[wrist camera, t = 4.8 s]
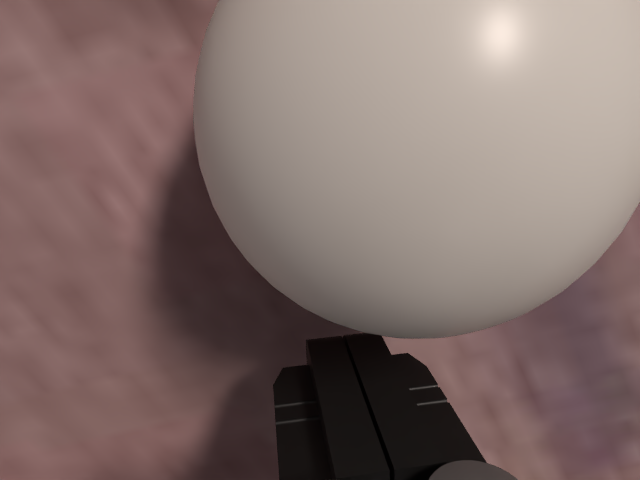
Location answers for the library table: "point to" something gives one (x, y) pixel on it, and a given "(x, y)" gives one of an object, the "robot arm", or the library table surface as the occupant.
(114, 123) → the library table surface
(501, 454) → the library table surface
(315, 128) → the cue ball
